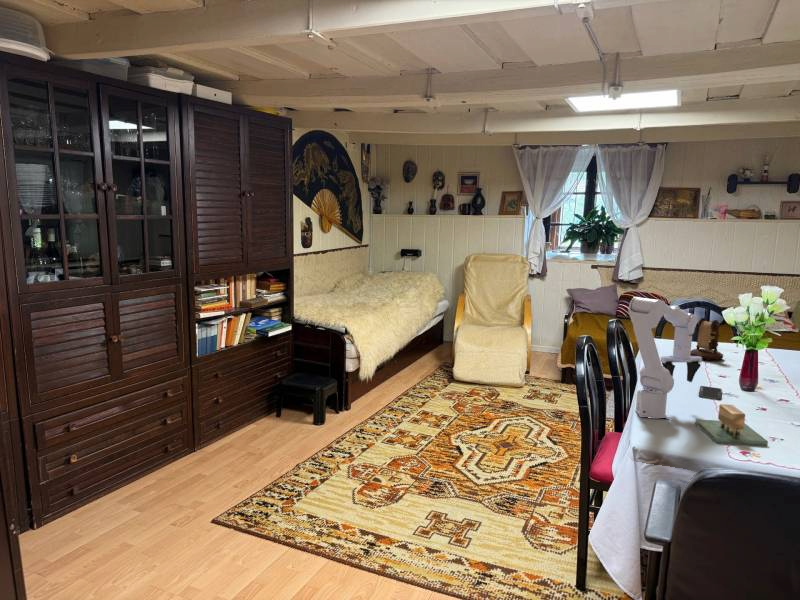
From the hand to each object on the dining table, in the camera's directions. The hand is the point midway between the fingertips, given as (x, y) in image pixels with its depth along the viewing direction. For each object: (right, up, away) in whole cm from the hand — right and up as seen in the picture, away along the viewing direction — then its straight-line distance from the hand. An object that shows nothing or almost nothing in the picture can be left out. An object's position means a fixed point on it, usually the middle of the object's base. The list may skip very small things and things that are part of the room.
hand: (679, 381), depth 209 cm
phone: (+21, -8, +19) cm, 30 cm away
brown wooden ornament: (+51, +1, +77) cm, 92 cm away
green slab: (+4, -14, -24) cm, 28 cm away
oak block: (+5, -10, -25) cm, 27 cm away
